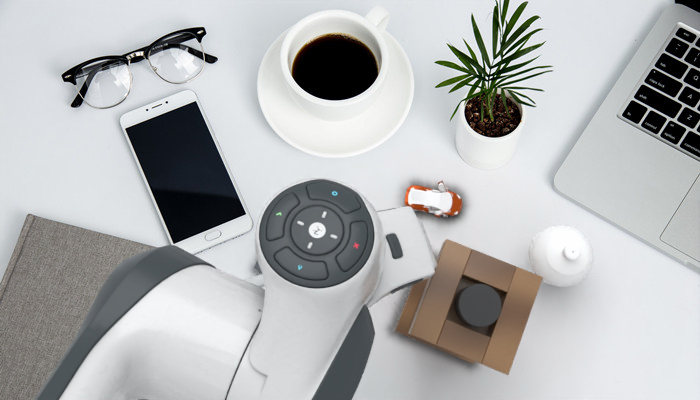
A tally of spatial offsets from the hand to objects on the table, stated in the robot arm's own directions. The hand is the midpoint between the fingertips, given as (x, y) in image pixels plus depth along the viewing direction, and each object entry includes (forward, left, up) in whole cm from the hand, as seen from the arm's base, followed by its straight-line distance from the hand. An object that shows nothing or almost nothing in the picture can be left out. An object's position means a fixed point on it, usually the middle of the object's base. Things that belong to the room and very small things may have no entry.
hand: (333, 288), depth 65 cm
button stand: (+4, -14, -19) cm, 24 cm away
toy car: (+17, -7, -19) cm, 26 cm away
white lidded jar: (+15, -24, -19) cm, 34 cm away
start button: (+4, -14, +4) cm, 15 cm away
